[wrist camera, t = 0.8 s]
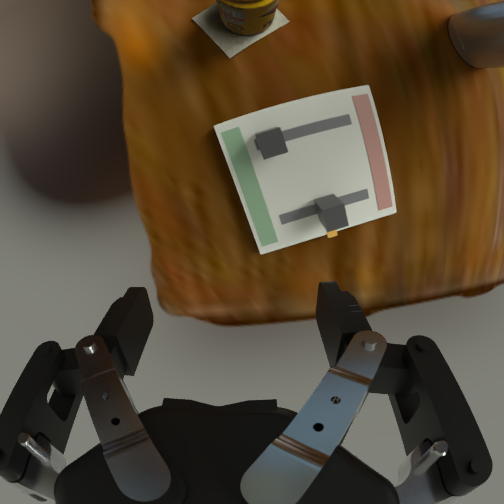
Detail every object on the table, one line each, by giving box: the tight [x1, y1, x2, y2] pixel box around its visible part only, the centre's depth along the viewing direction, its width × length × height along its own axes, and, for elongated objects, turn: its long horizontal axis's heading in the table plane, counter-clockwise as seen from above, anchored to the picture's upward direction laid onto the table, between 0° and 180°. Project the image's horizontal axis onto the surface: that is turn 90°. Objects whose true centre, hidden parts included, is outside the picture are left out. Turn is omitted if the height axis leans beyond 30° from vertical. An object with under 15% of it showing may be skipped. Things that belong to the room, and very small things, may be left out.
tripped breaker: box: [314, 194, 349, 232], centre depth 30 cm, size 2×2×4 cm
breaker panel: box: [214, 85, 397, 254], centre depth 31 cm, size 18×16×2 cm
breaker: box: [254, 127, 288, 160], centre depth 27 cm, size 2×2×4 cm
